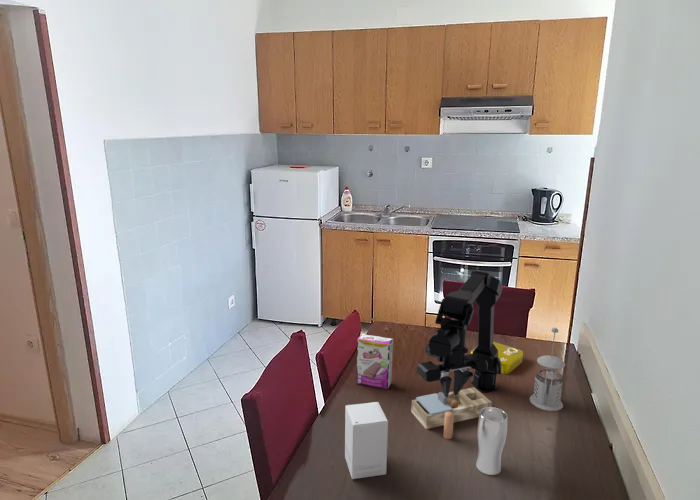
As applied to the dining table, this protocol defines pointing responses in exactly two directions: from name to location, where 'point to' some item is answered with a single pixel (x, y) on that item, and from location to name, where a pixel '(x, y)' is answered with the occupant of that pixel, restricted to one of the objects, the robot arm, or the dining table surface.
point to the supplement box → (366, 440)
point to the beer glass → (491, 439)
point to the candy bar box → (374, 361)
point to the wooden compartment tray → (453, 408)
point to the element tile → (508, 357)
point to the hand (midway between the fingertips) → (450, 395)
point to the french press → (548, 382)
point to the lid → (434, 403)
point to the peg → (448, 425)
